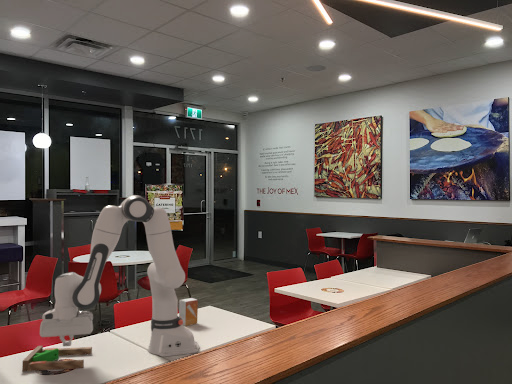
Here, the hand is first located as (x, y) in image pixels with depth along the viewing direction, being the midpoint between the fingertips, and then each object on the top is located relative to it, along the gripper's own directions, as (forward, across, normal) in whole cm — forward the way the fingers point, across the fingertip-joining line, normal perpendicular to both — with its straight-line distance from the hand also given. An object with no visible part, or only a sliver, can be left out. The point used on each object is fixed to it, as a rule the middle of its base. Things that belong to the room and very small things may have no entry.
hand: (67, 345), depth 172 cm
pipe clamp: (+6, +9, +2) cm, 11 cm away
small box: (+8, -49, -47) cm, 69 cm away
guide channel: (+6, +2, +1) cm, 6 cm away
